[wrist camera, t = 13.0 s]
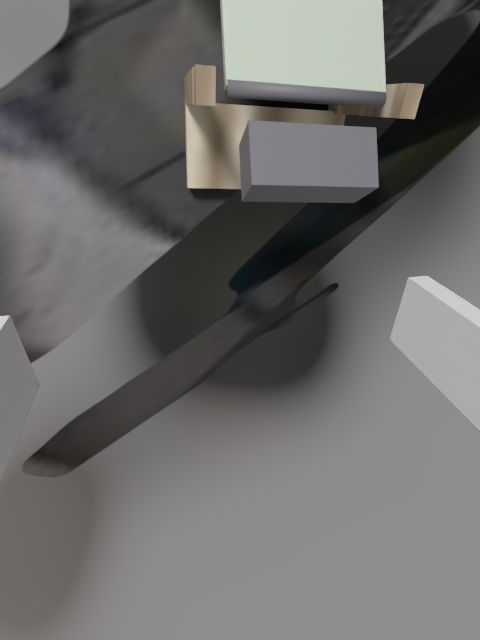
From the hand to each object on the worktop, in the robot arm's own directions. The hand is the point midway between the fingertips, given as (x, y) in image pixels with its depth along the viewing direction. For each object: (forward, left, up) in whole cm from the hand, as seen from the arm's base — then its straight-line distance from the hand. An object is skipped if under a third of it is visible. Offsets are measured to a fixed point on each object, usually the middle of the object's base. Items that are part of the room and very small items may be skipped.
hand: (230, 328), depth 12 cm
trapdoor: (+10, +8, -27) cm, 30 cm away
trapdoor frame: (+10, +3, -37) cm, 39 cm away
